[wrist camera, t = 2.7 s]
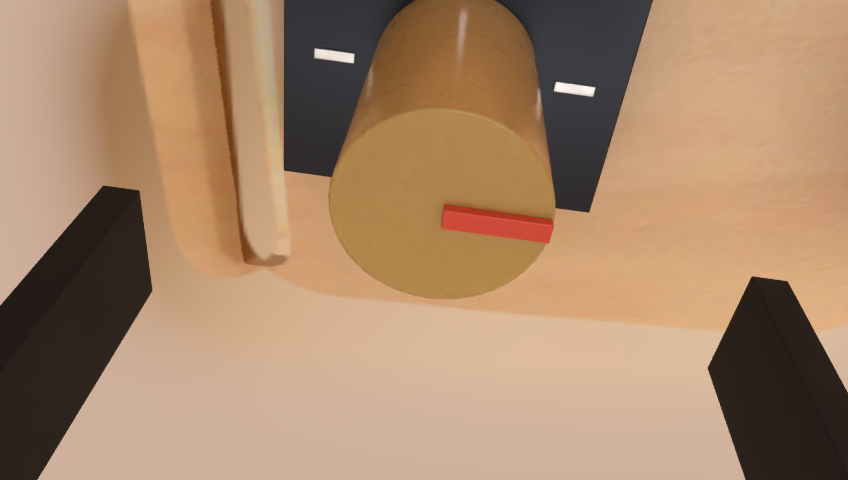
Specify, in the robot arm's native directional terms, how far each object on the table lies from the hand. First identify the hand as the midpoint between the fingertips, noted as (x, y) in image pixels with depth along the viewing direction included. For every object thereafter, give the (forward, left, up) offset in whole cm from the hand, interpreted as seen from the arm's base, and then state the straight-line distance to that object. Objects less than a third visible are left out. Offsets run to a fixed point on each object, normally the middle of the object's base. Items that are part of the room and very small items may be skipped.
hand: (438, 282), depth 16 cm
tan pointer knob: (0, 0, -12) cm, 12 cm away
